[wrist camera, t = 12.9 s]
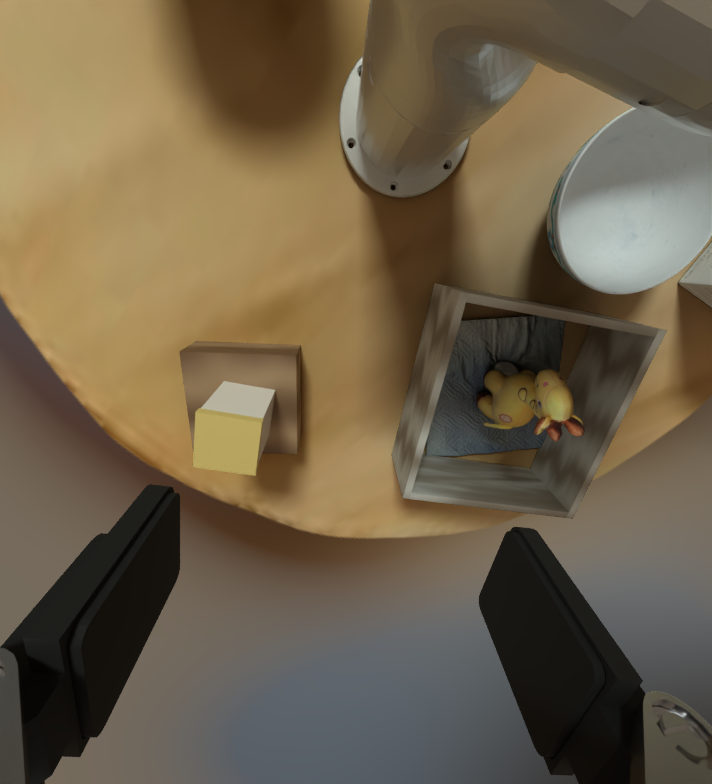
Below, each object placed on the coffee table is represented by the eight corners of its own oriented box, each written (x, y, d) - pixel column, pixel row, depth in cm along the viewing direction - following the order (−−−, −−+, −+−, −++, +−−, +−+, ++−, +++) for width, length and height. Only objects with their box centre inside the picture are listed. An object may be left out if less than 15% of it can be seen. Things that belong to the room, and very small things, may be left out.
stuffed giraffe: (565, 313, 41) (681, 355, 27) (542, 445, 49) (623, 534, 34) (427, 321, 42) (467, 368, 27) (424, 451, 49) (455, 543, 34)
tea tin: (223, 379, 38) (195, 412, 31) (276, 389, 39) (262, 422, 31) (219, 426, 40) (192, 466, 33) (270, 434, 41) (255, 475, 33)
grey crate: (434, 283, 40) (460, 291, 31) (601, 314, 42) (666, 330, 34) (391, 454, 48) (402, 498, 39) (533, 473, 50) (572, 518, 42)
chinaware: (560, 314, 42) (606, 327, 35) (489, 208, 37) (525, 197, 30) (679, 219, 38) (758, 212, 31) (618, 90, 34) (692, 48, 27)
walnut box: (197, 340, 41) (179, 351, 37) (300, 344, 42) (296, 355, 37) (208, 431, 46) (193, 451, 41) (301, 433, 47) (297, 454, 42)
